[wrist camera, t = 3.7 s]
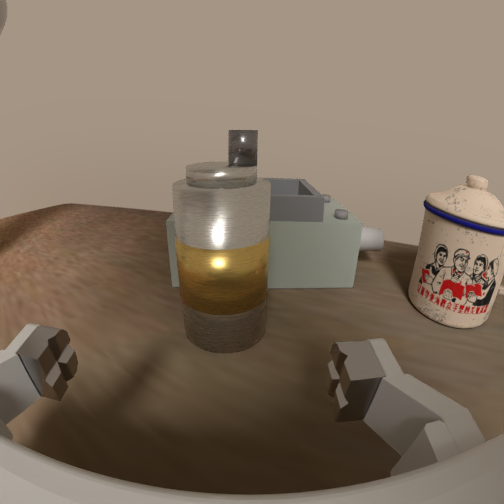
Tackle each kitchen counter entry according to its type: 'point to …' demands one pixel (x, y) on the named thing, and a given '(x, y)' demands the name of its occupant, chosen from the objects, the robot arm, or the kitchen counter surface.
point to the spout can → (224, 248)
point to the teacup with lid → (459, 255)
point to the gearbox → (306, 239)
